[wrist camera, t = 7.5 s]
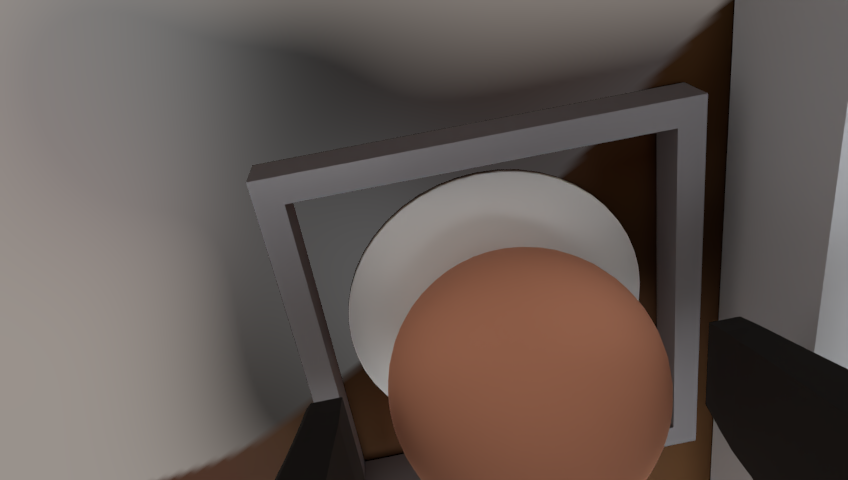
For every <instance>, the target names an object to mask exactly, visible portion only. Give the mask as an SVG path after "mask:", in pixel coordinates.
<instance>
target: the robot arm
mask: <svg viewBox="0 0 848 480" xmlns="http://www.w3.org/2000/svg"><path fill="white" fill-rule="evenodd" d="M706 406H707V407H708V409H709V411H710V413H711V415H712V417H713V418H714V420H715V422H716V424H717V426H718V428H719V429H720V431H721V433H722V435H723V436H724V438H725V440H726V441H727V443H728V445H729V447H730V448H731V450H732V451H733V453H734V454H735V456H736V457H737V458H738V460H739V461H740V462H741V464H742V465H743V466H744V468H745V469H746V471H747V472H748V473H749V475H750V476H751V477H752V479H753V480H848V369H847V368H845V367H842V366H840V365H838V364H836V363H834V362H832V361H830V360H828V359H826V358H824V357H822V356H820V355H818V354H816V353H814V352H812V351H810V350H808V349H806V348H804V347H802V346H800V345H798V344H796V343H794V342H792V341H790V340H788V339H786V338H784V337H782V336H780V335H778V334H776V333H774V332H772V331H770V330H768V329H766V328H764V327H762V326H760V325H758V324H756V323H754V322H752V321H749V320H747V319H745V318H743V317H740V316H739V317H734V318H729V319H724V320H719V321H714V322H709V340H708V363H707V386H706ZM275 480H365V478H364V472H363V469H362V465H361V462H360V458H359V455H358V451H357V447H356V444H355V440H354V437H353V433H352V430H351V426H350V423H349V419H348V415H347V412H346V408H345V405H344V401H343V398H342V397H339V398H335V399H330V400H325V401H320V402H315V403H311V404H310V405H309V406H308V408H307V409H306V412H305V414H304V417H303V419H302V422H301V424H300V427H299V429H298V431H297V434H296V436H295V438H294V441H293V443H292V445H291V447H290V449H289V452H288V454H287V456H286V458H285V460H284V462H283V464H282V466H281V468H280V470H279V472H278V474H277V476H276V478H275Z"/></svg>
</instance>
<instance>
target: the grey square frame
mask: <svg viewBox="0 0 848 480" xmlns="http://www.w3.org/2000/svg"><path fill="white" fill-rule="evenodd" d="M707 107H708V93H706V92H704V91H702V90H700V89H697V88H695V87H693V86H691V85H689V84H687V83H685V82H683V83H678V84H673V85H668V86H662V87H657V88H652V89H647V90H642V91H636V92H631V93H626V94H621V95H616V96H611V97H606V98H600V99H595V100H590V101H585V102H579V103H574V104H569V105H564V106H559V107H553V108H548V109H543V110H538V111H533V112H527V113H522V114H517V115H512V116H506V117H501V118H497V119H491V120H486V121H481V122H475V123H470V124H465V125H460V126H455V127H449V128H444V129H439V130H434V131H429V132H423V133H418V134H413V135H408V136H403V137H397V138H392V139H387V140H382V141H377V142H371V143H366V144H361V145H356V146H351V147H346V148H341V149H335V150H330V151H325V152H320V153H315V154H309V155H304V156H299V157H294V158H288V159H283V160H278V161H273V162H267V163H263V164H257V165H252V168H251V171H250V173H249V176H248V178H247V181H246V184H247V187H248V191H249V194H250V197H251V201H252V203H253V207H254V210H255V214H256V217H257V220H258V223H259V226H260V230H261V233H262V236H263V239H264V243H265V246H266V249H267V252H268V256H269V259H270V262H271V265H272V268H273V272H274V275H275V278H276V282H277V285H278V288H279V291H280V295H281V298H282V301H283V304H284V307H285V310H286V314H287V317H288V320H289V323H290V327H291V330H292V333H293V337H294V340H295V343H296V346H297V349H298V352H299V356H300V359H301V363H302V366H303V369H304V372H305V376H306V378H307V382H308V385H309V388H310V391H311V395H312V398H313V401H314V403H315V402H320V401H325V400H330V399H335V398H339V397H342V398H343V401H344V405H345V408H346V412H347V415H348V419H349V423H350V426H351V430H352V433H353V437H354V440H355V444H356V447H357V451H358V455H359V458H360V462H361V465H362V469H363V472H364V478H365V480H421V479H420V478H419V476H418V475H417V473H416V472H415V470H414V469H413V467H412V466H411V464H410V463H409V461H408V460H407V458H406V456H405V454H400V455H395V456H391V457H386V458H381V459H376V460H371V461H366V462H365V460H364V457H363V453H362V449H361V446H360V442H359V439H358V435H357V431H356V428H355V424H354V421H353V417H352V413H351V410H350V406H349V403H348V399H347V395H346V392H345V388H344V385H343V381H342V377H341V374H340V370H339V367H338V363H337V360H336V356H335V352H334V349H333V345H332V342H331V338H330V334H329V331H328V327H327V323H326V320H325V316H324V313H323V309H322V305H321V302H320V298H319V295H318V291H317V288H316V284H315V280H314V277H313V273H312V269H311V266H310V262H309V259H308V255H307V251H306V248H305V244H304V241H303V237H302V233H301V230H300V226H299V223H298V219H297V215H296V212H295V208H294V205H293V203H296V202H301V201H306V200H311V199H317V198H322V197H326V196H332V195H337V194H342V193H347V192H353V191H358V190H363V189H368V188H373V187H378V186H383V185H388V184H393V183H399V182H404V181H409V180H414V179H419V178H424V177H430V176H435V175H440V174H445V173H450V172H456V171H461V170H466V169H470V168H476V167H481V166H486V165H492V164H496V163H502V162H507V161H512V160H517V159H522V158H527V157H533V156H538V155H543V154H548V153H553V152H559V151H564V150H569V149H574V148H579V147H584V146H589V145H595V144H600V143H605V142H610V141H615V140H620V139H625V138H631V137H636V136H641V135H646V134H651V133H656V132H657V330H658V332H659V334H660V337H661V339H662V342H663V345H664V347H665V350H666V353H667V356H668V359H669V365H670V371H671V377H672V383H673V411H672V418H671V424H670V428H669V432H668V436H667V439H666V442H665V445H664V447H665V446H670V445H675V444H679V443H684V442H689V441H694V440H696V416H697V388H698V360H699V332H700V304H701V276H702V248H703V219H704V191H705V163H706V135H707ZM513 247H540V248H547V249H553V250H558V251H561V252H565V253H568V254H571V255H574V256H577V257H580V258H582V259H584V260H586V261H589V262H591V263H593V264H595V265H596V266H598V267H599V268H601V269H602V270H604V271H606V272H607V273H609V274H610V275H612V276H613V277H615V278H616V279H617V280H618V281H619V282H620V283H622V284H623V285H624V286H625V287H626V288H627V289H628V290H629V291H630V292H631V293H632V294H633V295H634V296H635V297H636V299H637V300H638V301H639V290H640V278H639V267H638V263H637V259H636V255H635V251H634V249H633V246H632V244H631V242H630V239H629V237H628V235H627V233H626V232H625V230H624V229H623V227H622V225H621V224H620V222H619V221H618V220H617V219H616V218H615V216H614V215H613V214H612V213H611V212H610V211H609V210H608V208H607V207H606V206H605V205H604V204H602V203H601V202H600V201H599V200H598V199H596V198H595V197H594V196H593V195H592V194H590V193H589V192H587V191H585V190H584V189H582V188H580V187H579V186H577V185H575V184H573V183H571V182H568V181H566V180H564V179H561V178H559V177H556V176H552V175H548V174H544V173H540V172H534V171H527V170H519V169H517V170H516V169H512V170H491V171H483V172H476V173H472V174H468V175H465V176H461V177H457V178H454V179H452V180H449V181H446V182H444V183H441V184H439V185H437V186H435V187H433V188H431V189H429V190H427V191H425V192H423V193H422V194H420V195H418V196H417V197H415V198H414V199H413V200H411V201H410V202H408V203H407V204H405V205H404V206H402V207H401V208H400V209H399V210H398V211H397V212H396V213H395V214H394V215H392V216H391V217H390V218H389V219H388V220H387V221H386V222H385V223H384V224H383V226H382V227H381V228H380V229H379V230H378V232H377V233H376V234H375V235H374V237H373V238H372V240H371V241H370V243H369V244H368V246H367V247H366V249H365V251H364V252H363V254H362V257H361V259H360V261H359V263H358V265H357V268H356V270H355V274H354V277H353V281H352V284H351V289H350V296H349V327H350V333H351V339H352V343H353V346H354V348H355V351H356V354H357V357H358V358H359V360H360V362H361V364H362V366H363V368H364V370H365V371H366V373H367V374H368V375H369V377H370V378H371V379H372V381H373V382H374V383H375V384H376V385H377V386H378V387H379V388H380V389H381V390H382V391H383V392H384V393H385V394H386V395H387V396H388V376H389V365H390V360H391V356H392V352H393V347H394V343H395V340H396V337H397V335H398V332H399V330H400V327H401V325H402V323H403V321H404V320H405V318H406V316H407V314H408V313H409V311H410V309H411V307H412V306H413V305H414V303H415V302H416V301H417V299H418V298H419V297H420V295H421V294H422V293H423V292H424V291H425V290H426V289H427V288H428V287H429V286H430V285H431V284H432V283H433V282H434V281H435V280H436V279H438V278H439V277H440V276H442V275H443V274H444V273H445V272H447V271H448V270H450V269H451V268H453V267H455V266H456V265H458V264H459V263H461V262H463V261H466V260H468V259H470V258H472V257H474V256H477V255H480V254H483V253H486V252H489V251H494V250H499V249H503V248H513Z"/></svg>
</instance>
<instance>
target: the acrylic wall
mask: <svg viewBox="0 0 848 480" xmlns="http://www.w3.org/2000/svg"><path fill="white" fill-rule="evenodd" d="M739 316H740V317H743V318H745V319H747V320H749V321H752V322H754V323H756V324H758V325H760V326H762V327H764V328H766V329H768V330H770V331H772V332H774V333H776V334H778V335H780V336H782V337H784V338H786V339H788V340H790V341H792V342H794V343H796V344H798V345H800V346H802V347H804V348H806V349H808V350H810V351H812V352H814V353H816V354H818V355H820V356H822V357H824V358H826V359H828V360H830V361H832V362H834V363H836V364H838V365H840V366H842V367H845V368H847V369H848V0H735V7H734V27H733V46H732V66H731V85H730V105H729V125H728V144H727V164H726V183H725V203H724V222H723V242H722V261H721V281H720V301H719V320H724V319H729V318H734V317H739ZM719 320H718V321H719ZM710 480H753V479H752V477H751V476H750V475H749V473H748V472H747V471H746V469H745V468H744V466H743V465H742V464H741V462H740V461H739V460H738V458H737V457H736V456H735V454H734V453H733V451H732V450H731V448H730V447H729V445H728V443H727V441H726V440H725V438H724V436H723V435H722V433H721V431H720V429H719V428H718V426H717V424H716V422H715V420H714V418H713V438H712V457H711V477H710Z"/></svg>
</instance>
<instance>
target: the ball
mask: <svg viewBox="0 0 848 480" xmlns="http://www.w3.org/2000/svg"><path fill="white" fill-rule="evenodd" d="M388 397H389V407H390V412H391V418H392V422H393V425H394V429H395V433H396V435H397V438H398V440H399V443H400V445H401V447H402V450H403V452H404V454H405V456H406V458H407V460H408V461H409V463H410V464H411V466H412V467H413V469H414V470H415V472H416V473H417V475H418V476H419V478H420V479H421V480H647V478H648V476H649V475H650V473H651V472H652V470H653V469H654V467H655V465H656V463H657V461H658V459H659V457H660V455H661V453H662V451H663V449H664V445H665V442H666V439H667V436H668V432H669V428H670V424H671V418H672V411H673V383H672V377H671V371H670V365H669V359H668V356H667V353H666V350H665V347H664V345H663V342H662V339H661V337H660V334H659V332H658V330H657V328H656V326H655V325H654V323H653V321H652V319H651V318H650V316H649V315H648V313H647V311H646V310H645V308H644V307H643V306H642V305H641V303H640V302H639V301H638V300H637V299H636V297H635V296H634V295H633V294H632V293H631V292H630V291H629V290H628V289H627V288H626V287H625V286H624V285H623V284H622V283H620V282H619V281H618V280H617V279H616V278H615V277H613V276H612V275H610V274H609V273H607V272H606V271H604V270H602V269H601V268H599V267H598V266H596V265H595V264H593V263H591V262H589V261H586V260H584V259H582V258H580V257H577V256H574V255H571V254H568V253H565V252H561V251H558V250H553V249H547V248H540V247H513V248H503V249H499V250H494V251H489V252H486V253H483V254H480V255H477V256H474V257H472V258H470V259H468V260H466V261H463V262H461V263H459V264H458V265H456V266H455V267H453V268H451V269H450V270H448V271H447V272H445V273H444V274H443V275H442V276H440V277H439V278H438V279H436V280H435V281H434V282H433V283H432V284H431V285H430V286H429V287H428V288H427V289H426V290H425V291H424V292H423V293H422V294H421V295H420V297H419V298H418V299H417V301H416V302H415V303H414V305H413V306H412V307H411V309H410V311H409V313H408V314H407V316H406V318H405V320H404V321H403V323H402V325H401V327H400V330H399V332H398V335H397V337H396V340H395V343H394V347H393V352H392V356H391V360H390V365H389V376H388Z"/></svg>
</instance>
